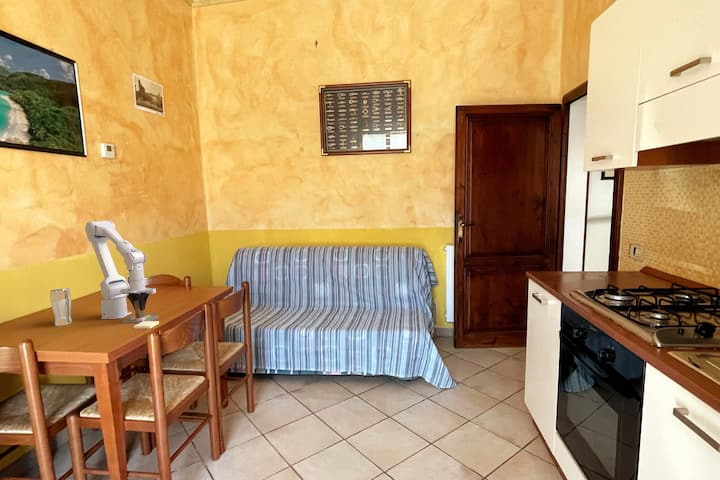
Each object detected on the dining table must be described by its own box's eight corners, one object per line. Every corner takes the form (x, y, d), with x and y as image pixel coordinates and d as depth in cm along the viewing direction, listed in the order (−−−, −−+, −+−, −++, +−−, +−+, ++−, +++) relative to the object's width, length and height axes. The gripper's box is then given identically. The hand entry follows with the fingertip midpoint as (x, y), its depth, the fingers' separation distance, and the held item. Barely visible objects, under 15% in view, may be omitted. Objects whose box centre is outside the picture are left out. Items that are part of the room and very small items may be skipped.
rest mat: (121, 323, 161) (121, 321, 161) (133, 317, 169) (132, 316, 169) (149, 322, 161) (148, 321, 161) (159, 316, 169) (159, 315, 169)
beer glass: (51, 327, 158) (47, 292, 157) (55, 322, 164) (51, 289, 163) (72, 324, 162) (67, 290, 160) (75, 320, 168) (71, 287, 166)
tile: (133, 326, 154) (149, 326, 154) (142, 321, 160) (158, 321, 159) (133, 329, 154) (150, 329, 154) (143, 324, 160) (159, 324, 160)
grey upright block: (130, 321, 162) (128, 301, 161) (139, 316, 168) (137, 297, 167) (142, 320, 162) (140, 301, 161) (150, 316, 168) (148, 297, 167)
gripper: (114, 281, 159) (117, 313, 161) (148, 280, 159) (151, 312, 160) (124, 278, 166) (128, 308, 168) (157, 277, 166) (160, 307, 167)
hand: (139, 309), depth 165 cm, fingers closed
